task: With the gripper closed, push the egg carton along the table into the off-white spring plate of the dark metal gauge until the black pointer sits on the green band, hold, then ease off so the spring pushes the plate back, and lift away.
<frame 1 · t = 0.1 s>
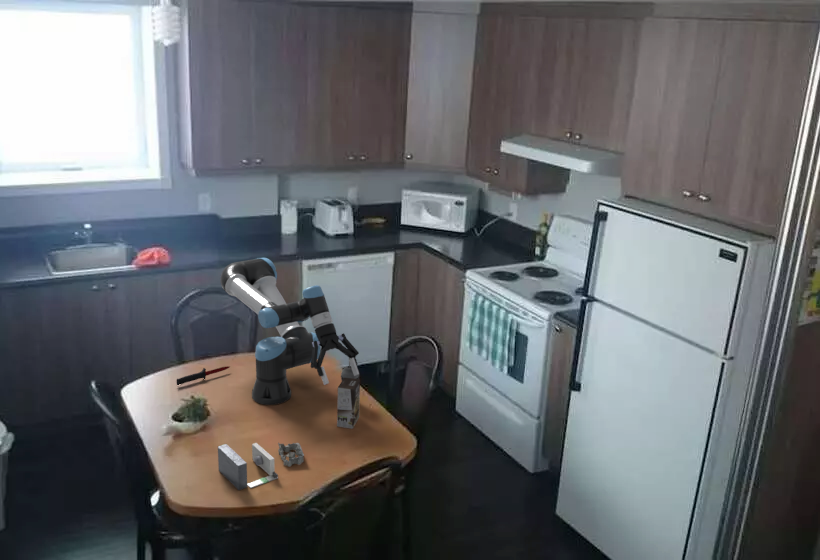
hand: (341, 379, 293), 15 cm above the table, tool tilted 35°, fingers open, 13 cm apart
coffee box: (348, 422, 294), on the table
beverage cup: (349, 403, 308), on the table
spring plate: (262, 461, 261), point 3 cm above the table, slide at 0.0 cm, touching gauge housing
egg carton: (291, 458, 270), on the table
knife: (204, 380, 322), on the table
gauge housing: (249, 472, 260), on the table
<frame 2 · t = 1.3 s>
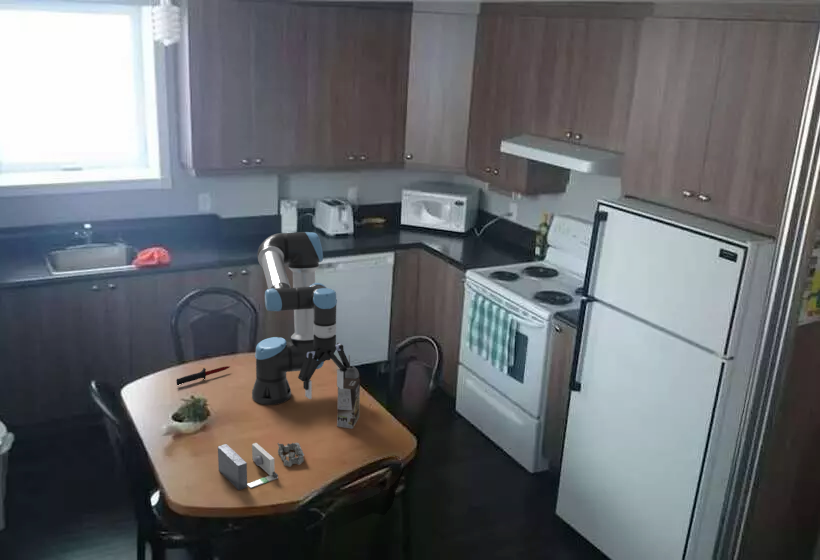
hand: (324, 392, 271), 21 cm above the table, tool pointing down, fingers open, 12 cm apart
nothing on the table moved.
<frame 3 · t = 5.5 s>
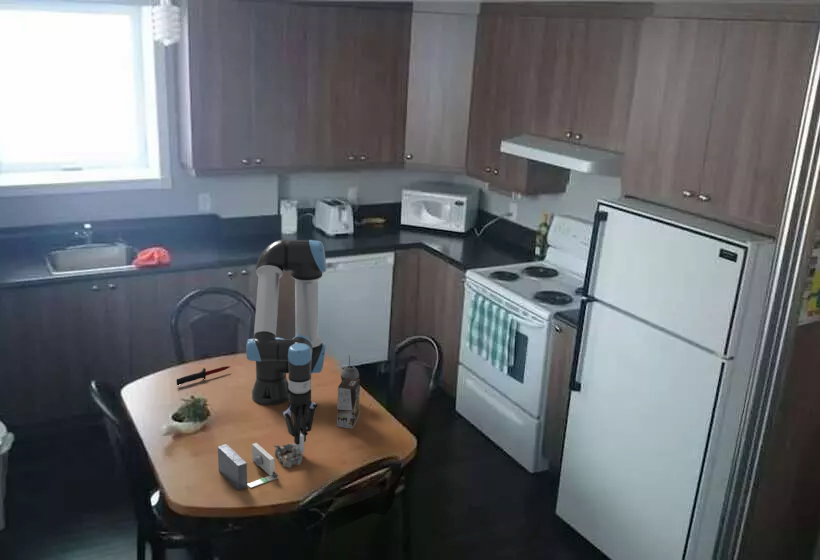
hand: (300, 450, 271), 1 cm above the table, tool pointing down, fingers closed
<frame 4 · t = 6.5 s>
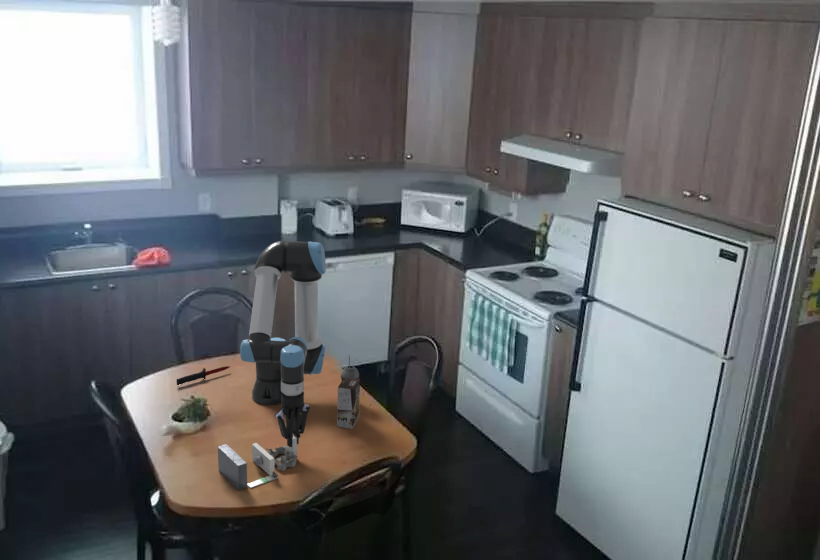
hand: (292, 453, 269), 1 cm above the table, tool pointing down, fingers closed
egg carton: (282, 462, 267), on the table
everything else where it was.
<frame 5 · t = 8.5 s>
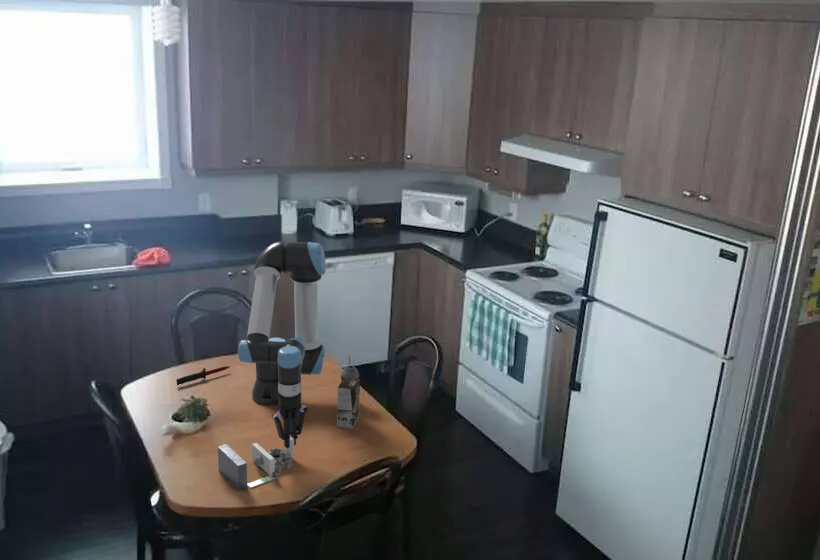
hand: (290, 454, 269), 1 cm above the table, tool pointing down, fingers closed
egg carton: (277, 464, 266), on the table
everything else where it was.
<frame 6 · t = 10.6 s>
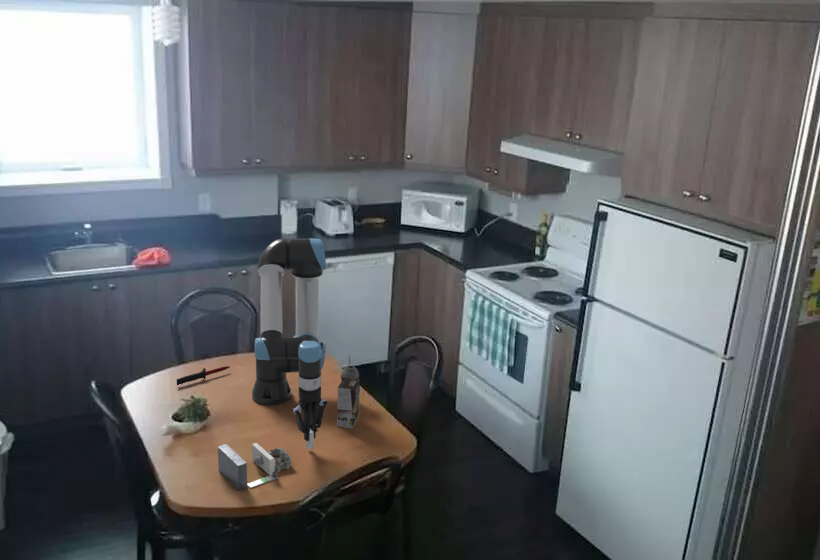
hand: (309, 447, 274), 1 cm above the table, tool pointing down, fingers closed
nothing on the table moved.
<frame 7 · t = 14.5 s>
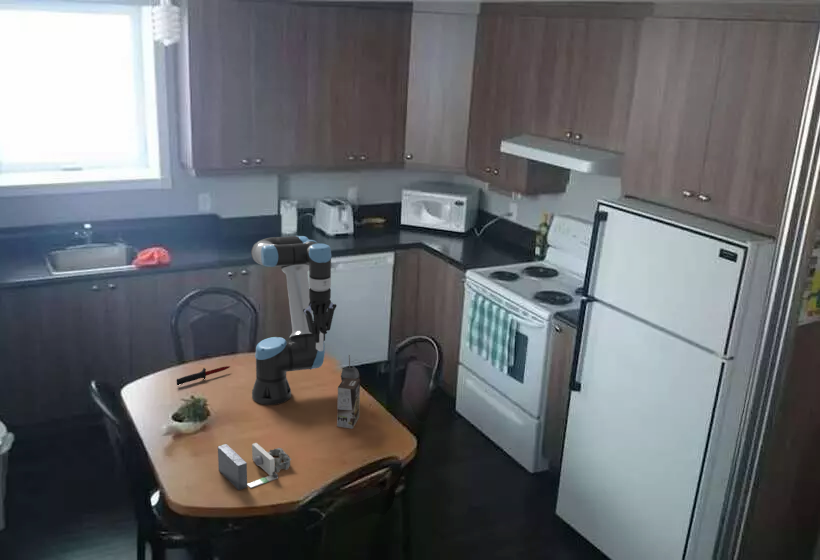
hand: (319, 349, 284), 29 cm above the table, tool pointing down, fingers closed
nothing on the table moved.
at the end: spring plate slide at 0.0 cm; egg carton inside the target area (0.8 cm from its centre), on the table; egg carton tilted 0° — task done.
